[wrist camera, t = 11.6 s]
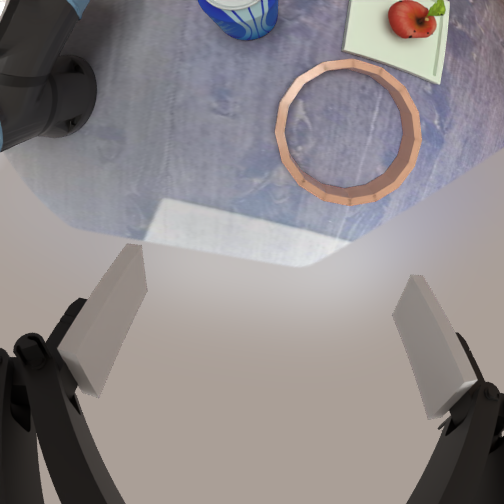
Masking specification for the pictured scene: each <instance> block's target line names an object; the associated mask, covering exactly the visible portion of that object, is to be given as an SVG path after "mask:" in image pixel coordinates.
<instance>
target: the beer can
mask: <svg viewBox="0 0 504 504" xmlns="http://www.w3.org/2000/svg"><path fill="white" fill-rule="evenodd" d="M198 2H199V5H200V6H201V8H202V9H203V10H204V12H205V13H206V14H207V15H208V16H209V17H210V18H211V19H212V20H213V21H214V22H215V23H216V24H217V25H218V26H219V27H220V28H221V29H222V30H223V31H224V32H225V33H226V34H228V35H229V36H231V37H233V38H236V39H240V40H253V39H257V38H260V37H262V36H264V35H266V34H267V33H269V32H270V31H271V30H272V29H273V27H274V26H275V24H276V21H277V17H278V0H198Z"/></svg>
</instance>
